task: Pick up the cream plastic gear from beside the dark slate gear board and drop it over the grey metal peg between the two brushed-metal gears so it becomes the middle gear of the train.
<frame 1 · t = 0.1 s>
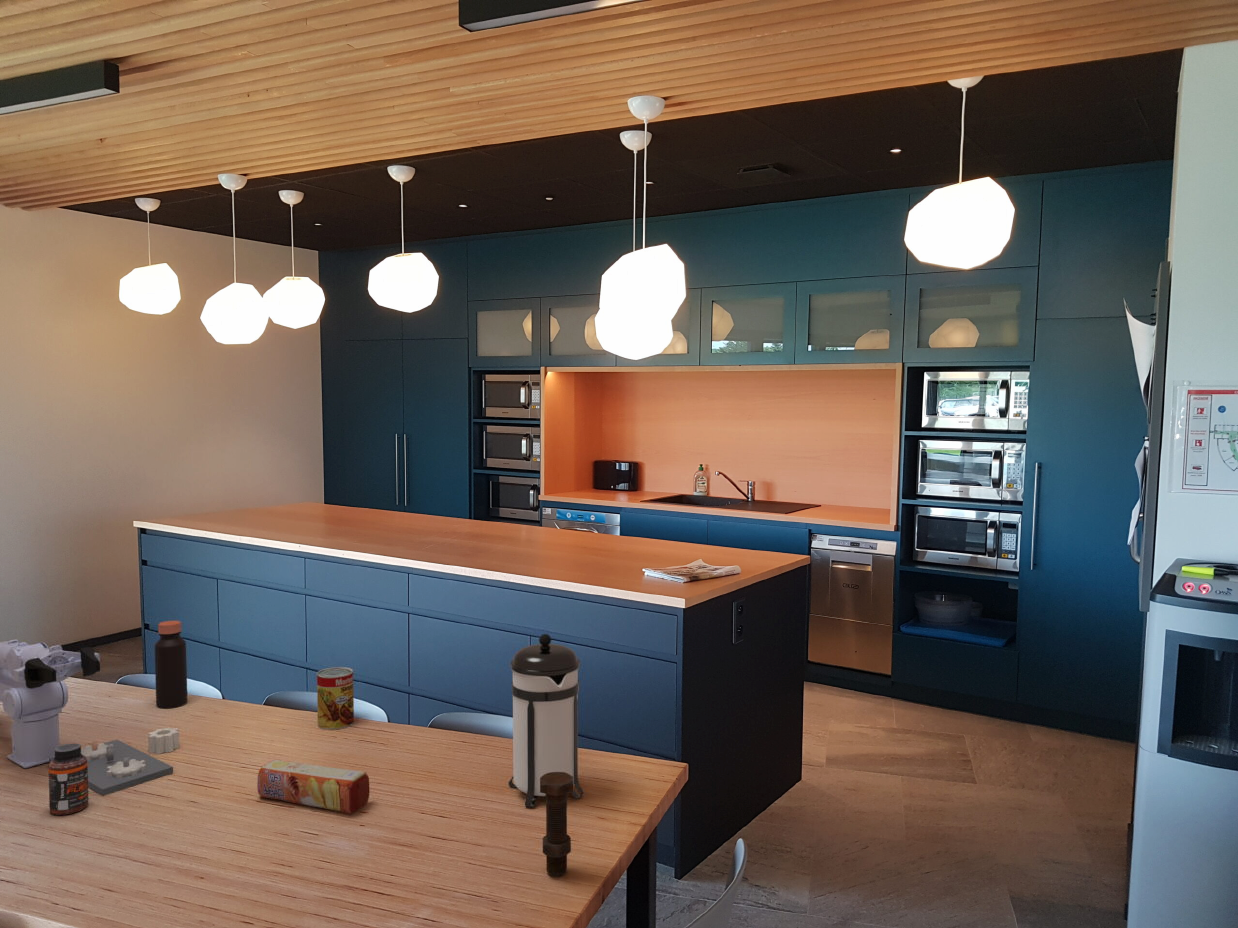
hand: (76, 670, 168), 22 cm above the table, tool horizontal, fingers open, 7 cm apart
gear board: (110, 768, 176), on the table
bolt: (556, 873, 136), on the table
canned food: (335, 724, 201), on the table
supplement bottle: (69, 809, 158), on the table
coffee press: (541, 790, 166), on the table
idler gear: (164, 748, 186), on the table
vinegar: (172, 704, 214), on the table
snack package: (312, 803, 161), on the table
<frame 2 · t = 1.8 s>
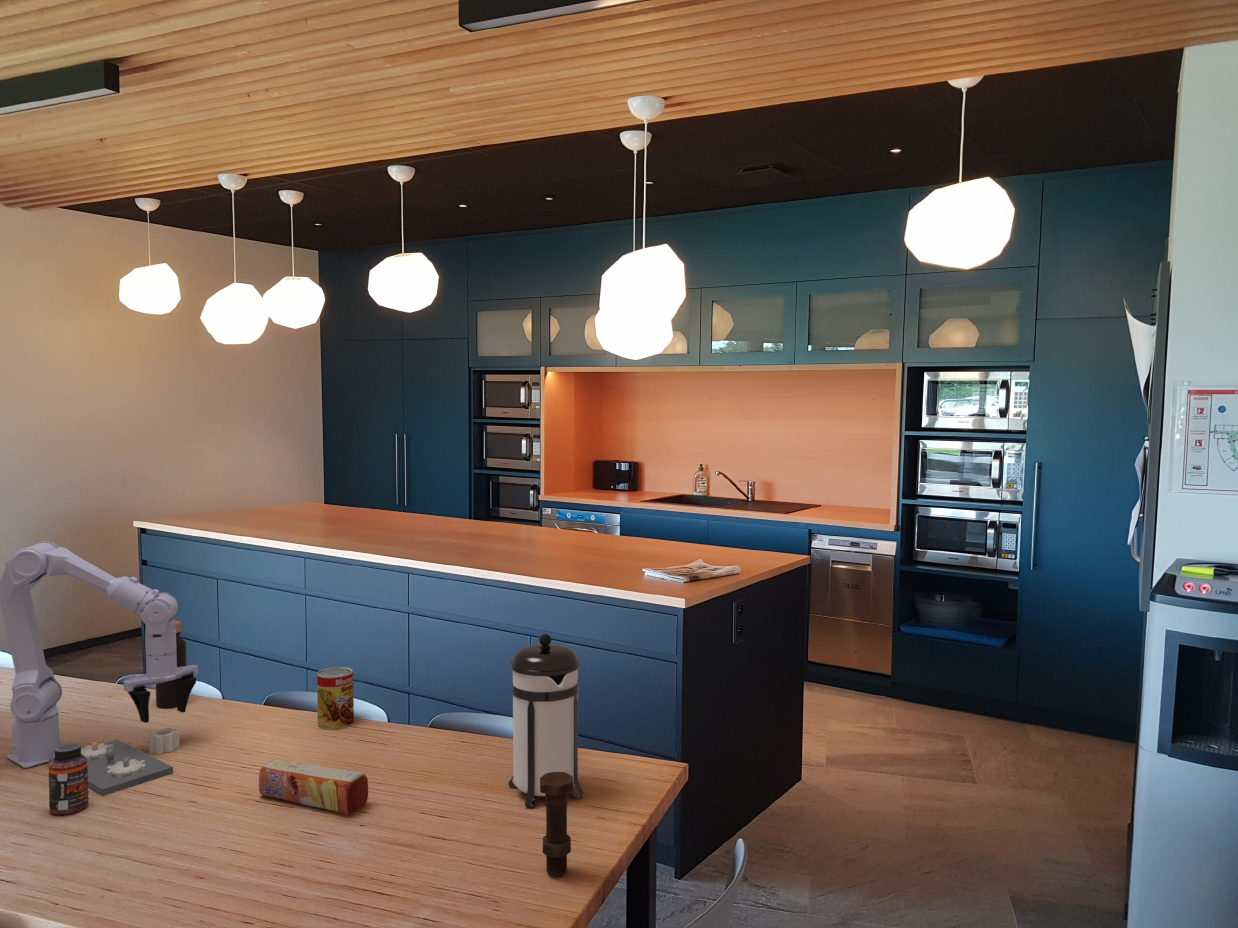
hand: (163, 716, 186), 7 cm above the table, tool pointing down, fingers open, 7 cm apart
nothing on the table moved.
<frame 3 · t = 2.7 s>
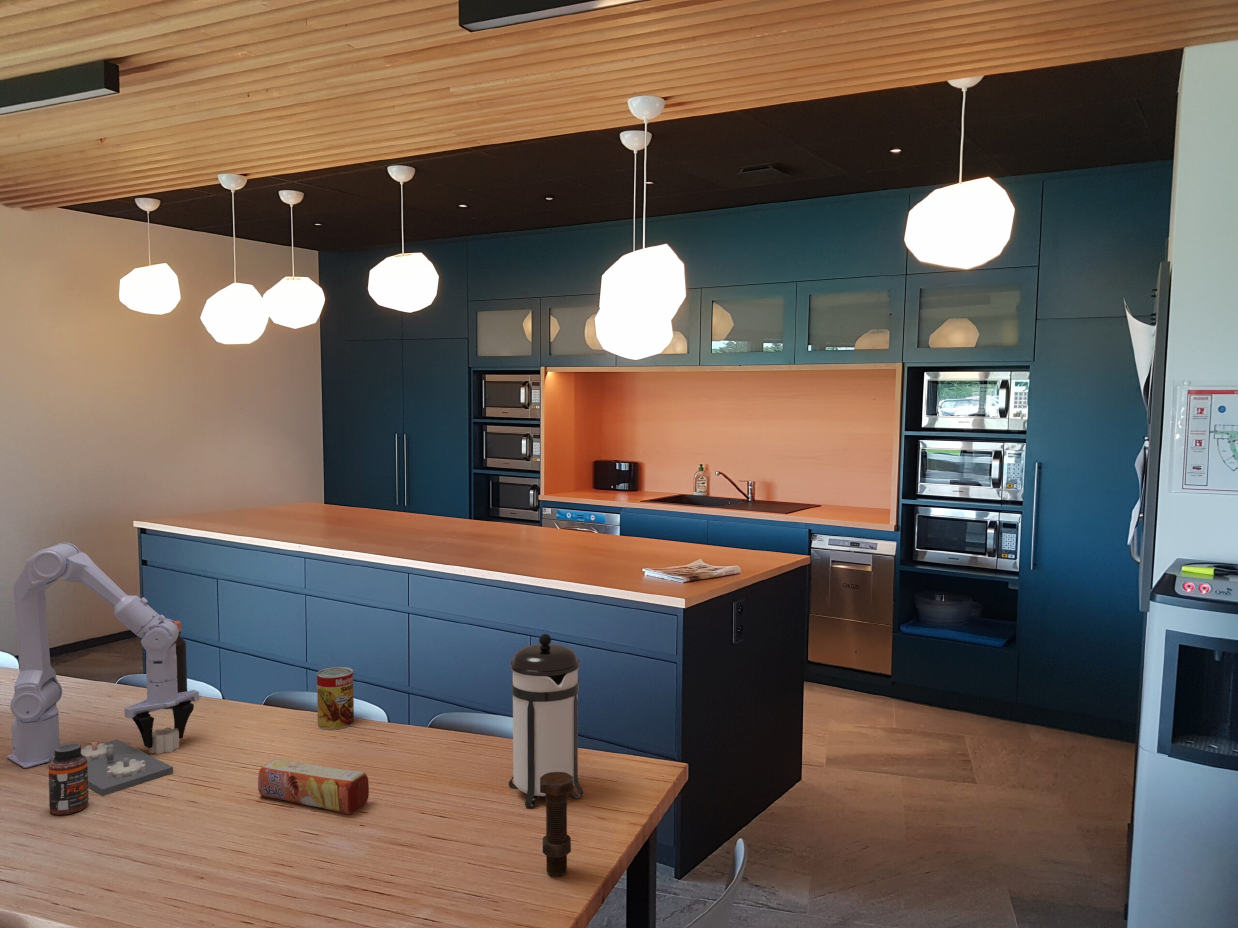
hand: (163, 741, 186), 1 cm above the table, tool pointing down, fingers closed on idler gear, 6 cm apart
idler gear: (164, 748, 186), on the table, touching gripper
everything else where it was.
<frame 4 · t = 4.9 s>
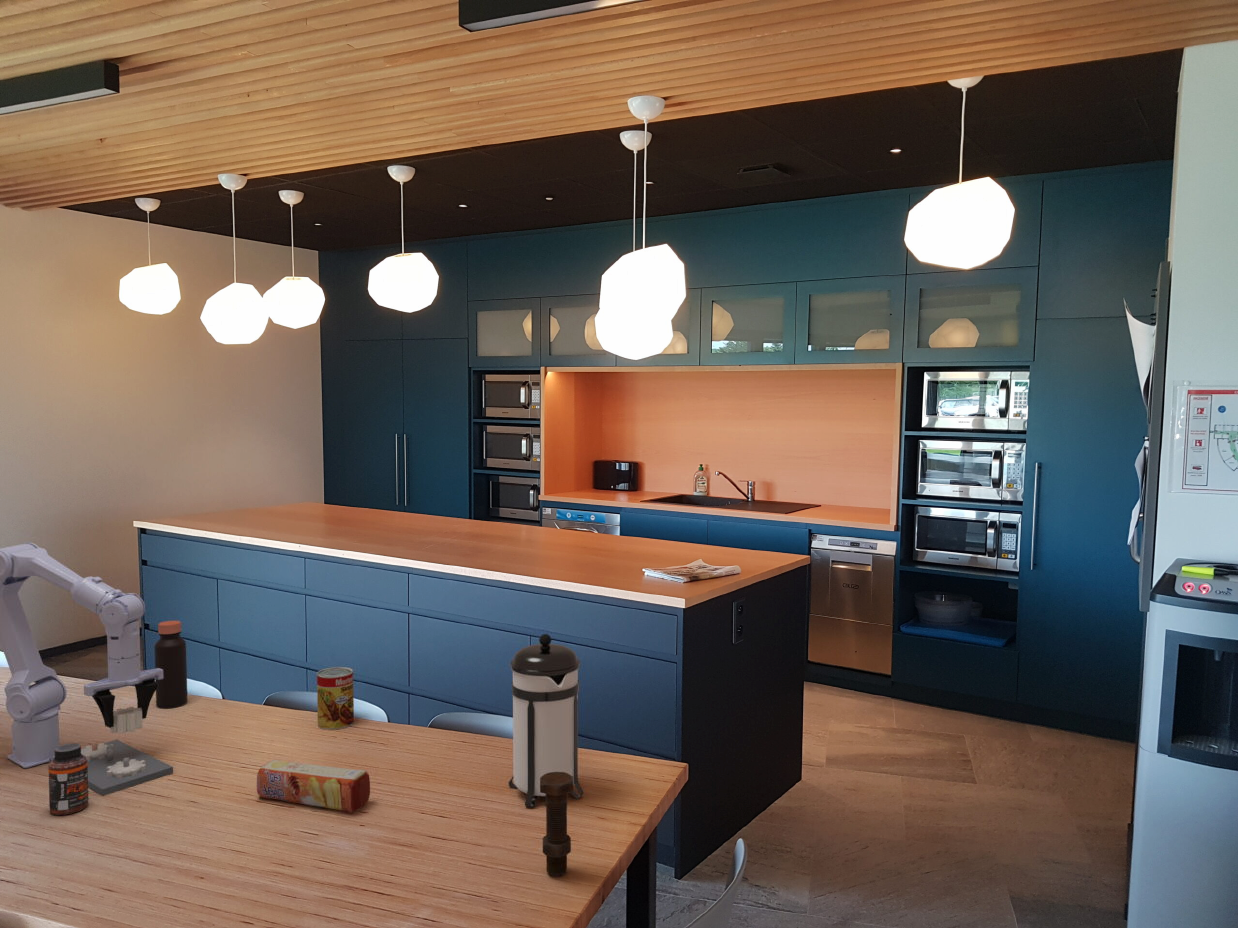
hand: (125, 721, 178), 8 cm above the table, tool pointing down, fingers closed on idler gear, 6 cm apart
idler gear: (126, 728, 178), point 7 cm above the table, touching gripper
everything else where it was.
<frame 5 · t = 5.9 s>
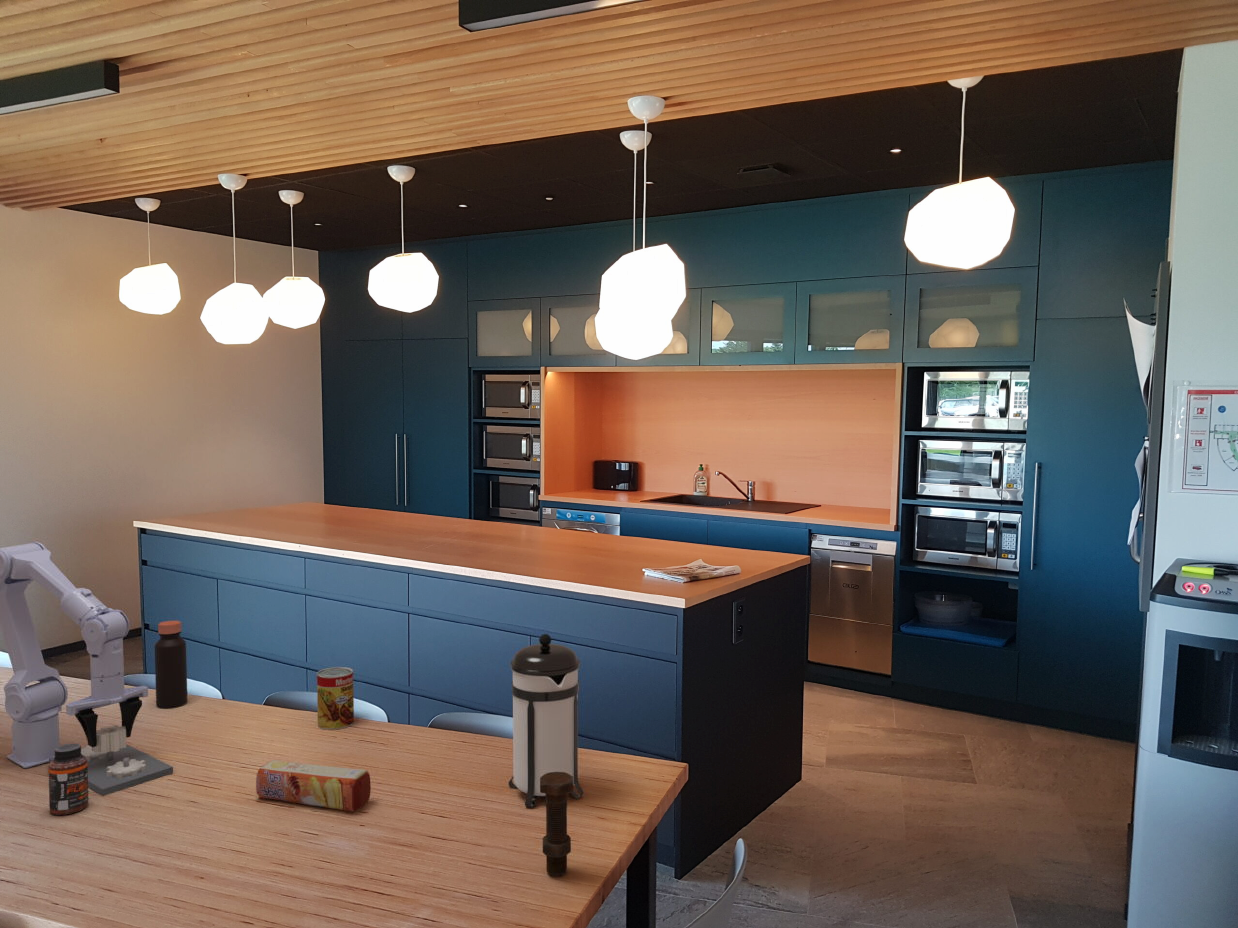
hand: (109, 740, 175), 6 cm above the table, tool pointing down, fingers closed on idler gear, 6 cm apart
idler gear: (110, 747, 175), point 4 cm above the table, touching gripper
everything else where it was.
when the fingers open (4 cm above the table, at t = 6.9 s): idler gear drops 1 cm, resting on gear board.
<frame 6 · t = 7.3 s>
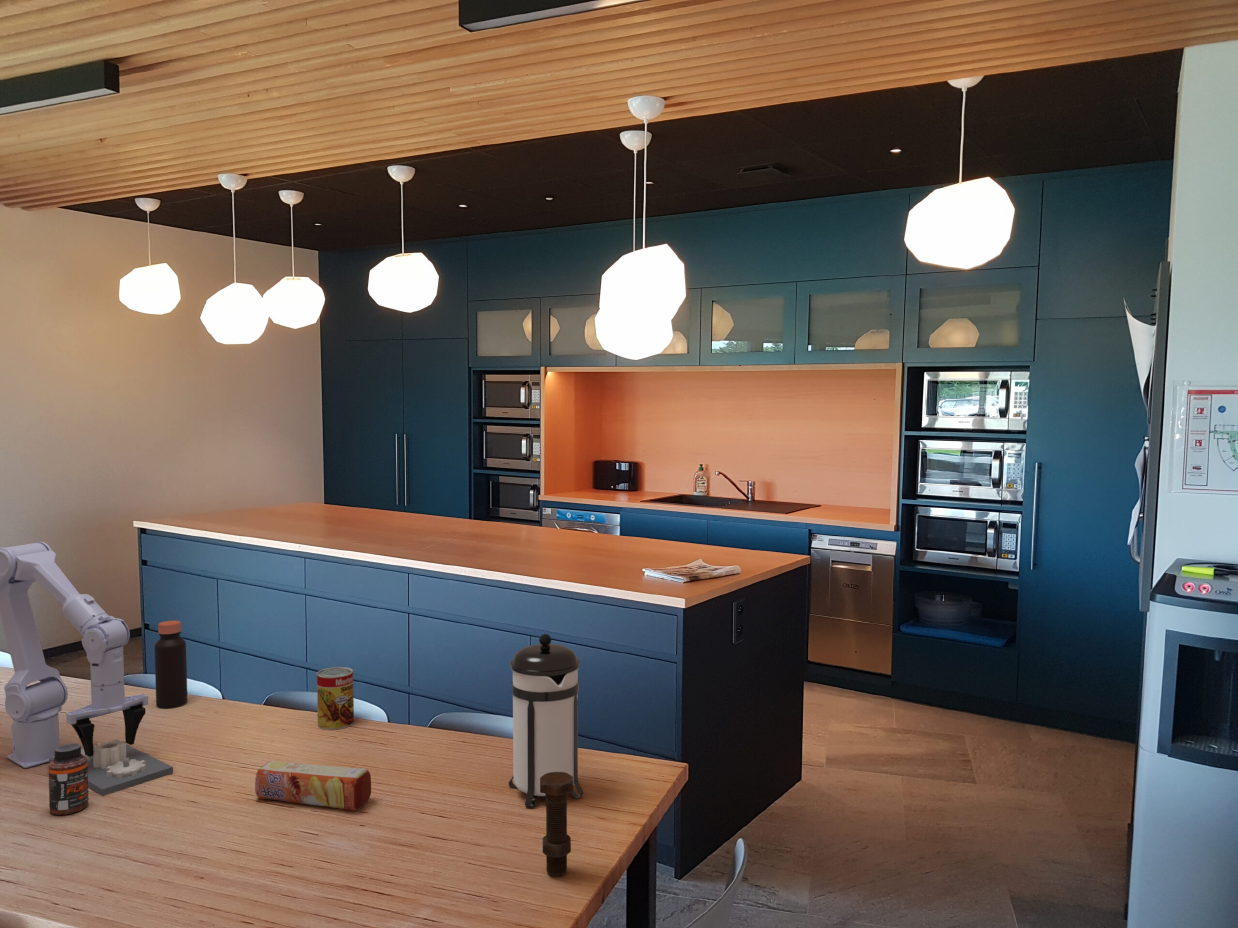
hand: (109, 749, 175), 4 cm above the table, tool pointing down, fingers open, 7 cm apart
idler gear: (110, 762, 176), point 1 cm above the table, touching gear board
everything else where it was.
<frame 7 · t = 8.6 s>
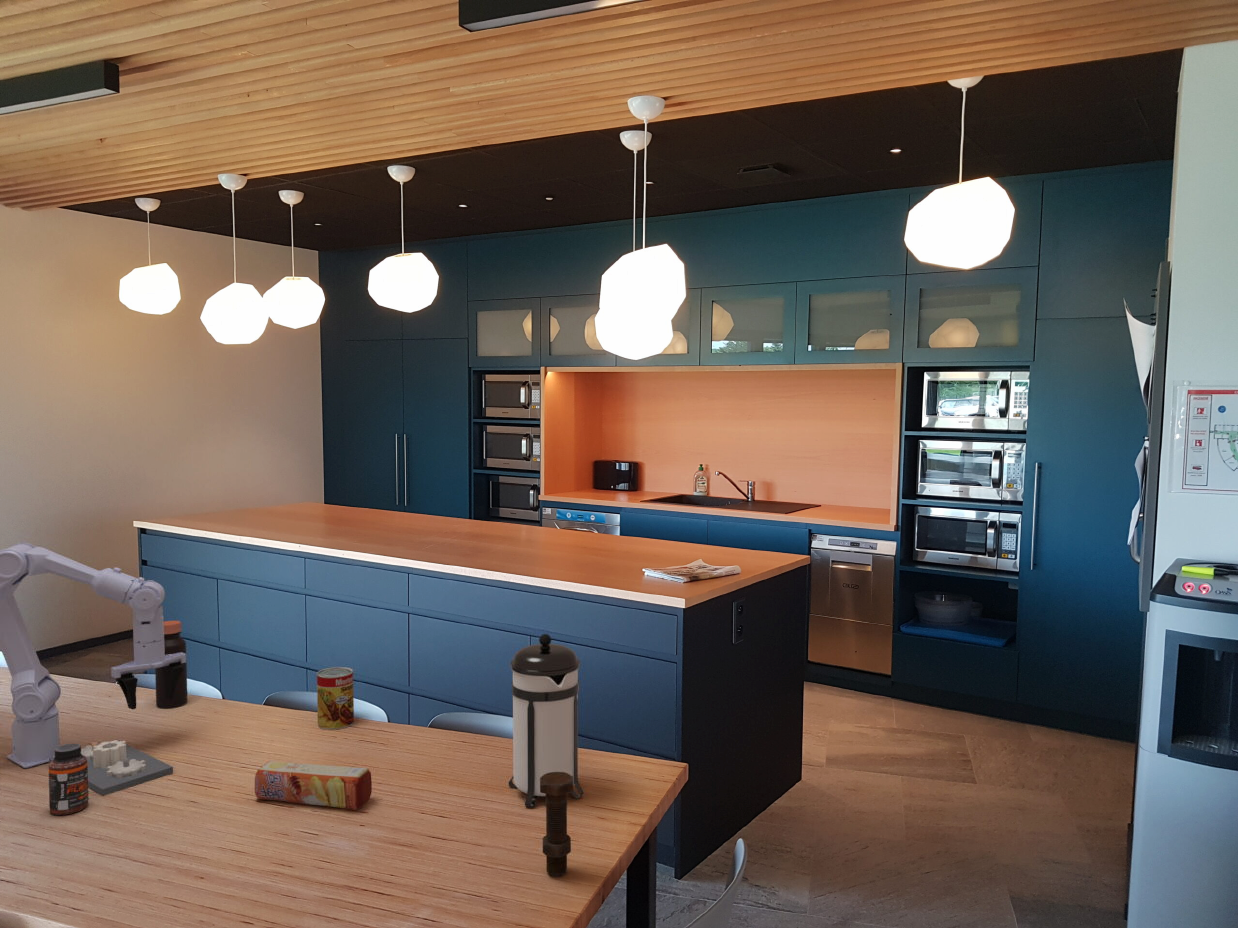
hand: (150, 703, 186), 9 cm above the table, tool pointing down, fingers open, 7 cm apart
nothing on the table moved.
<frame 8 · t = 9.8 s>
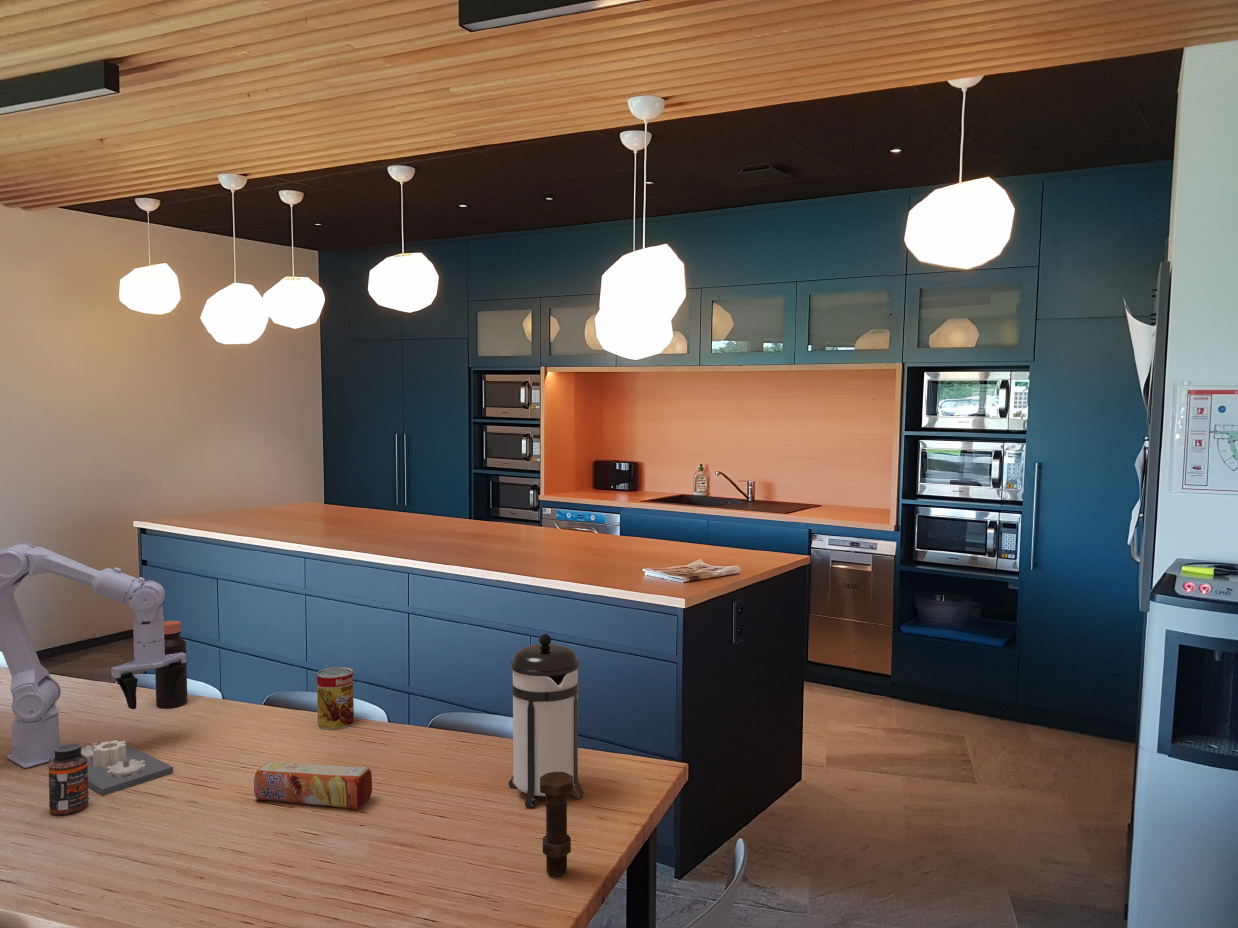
hand: (151, 703, 187), 9 cm above the table, tool pointing down, fingers open, 7 cm apart
at the end: idler gear 0.0 cm off-centre on the gear board, point 1.2 cm above the gear board's base; idler gear tilted 0°; the gripper is holding nothing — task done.
